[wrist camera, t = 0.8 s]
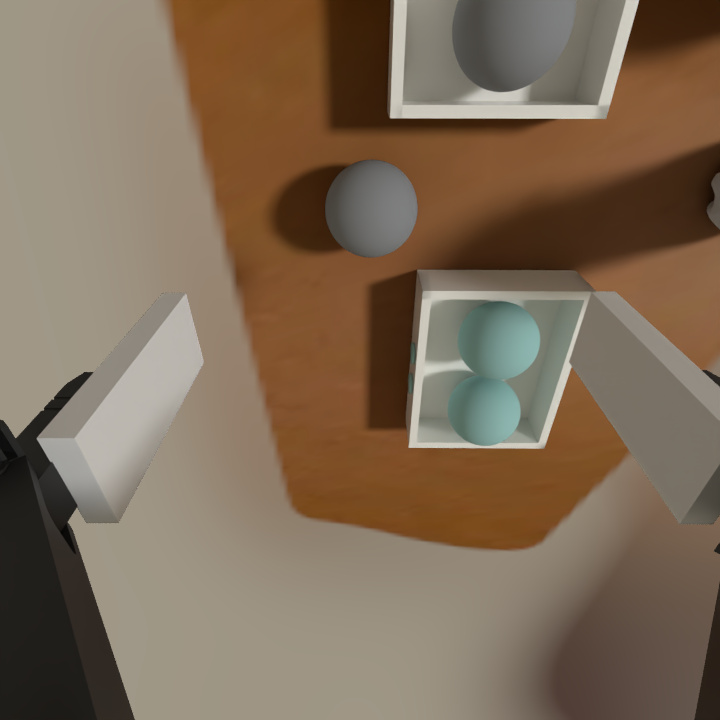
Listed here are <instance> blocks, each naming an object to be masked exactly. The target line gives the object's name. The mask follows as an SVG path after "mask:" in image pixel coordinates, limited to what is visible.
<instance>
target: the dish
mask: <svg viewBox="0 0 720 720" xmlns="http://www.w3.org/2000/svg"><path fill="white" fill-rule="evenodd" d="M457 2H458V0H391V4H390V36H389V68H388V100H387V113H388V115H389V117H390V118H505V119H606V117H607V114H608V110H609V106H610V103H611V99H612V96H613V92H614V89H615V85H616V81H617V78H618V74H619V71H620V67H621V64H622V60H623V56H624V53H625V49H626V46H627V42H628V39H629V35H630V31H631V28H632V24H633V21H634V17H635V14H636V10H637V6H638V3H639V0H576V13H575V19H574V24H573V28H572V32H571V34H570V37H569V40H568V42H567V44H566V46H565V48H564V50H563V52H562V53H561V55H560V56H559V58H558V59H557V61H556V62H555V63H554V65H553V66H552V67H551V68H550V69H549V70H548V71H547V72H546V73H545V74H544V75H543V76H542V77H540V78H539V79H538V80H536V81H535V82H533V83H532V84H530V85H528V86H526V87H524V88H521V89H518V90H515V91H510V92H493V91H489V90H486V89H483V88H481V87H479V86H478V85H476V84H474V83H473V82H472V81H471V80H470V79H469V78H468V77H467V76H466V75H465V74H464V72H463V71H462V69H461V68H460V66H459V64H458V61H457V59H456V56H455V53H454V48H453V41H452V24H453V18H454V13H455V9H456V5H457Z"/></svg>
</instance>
